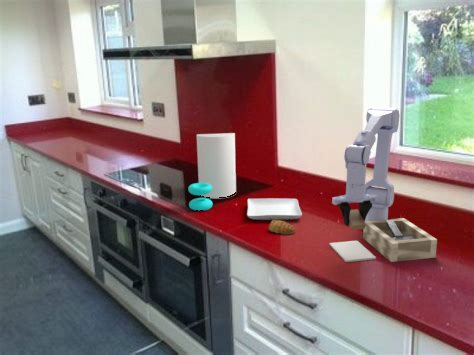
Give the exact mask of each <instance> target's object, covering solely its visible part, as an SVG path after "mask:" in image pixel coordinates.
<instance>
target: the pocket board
mask: <svg viewBox="0 0 474 355" xmlns="http://www.w3.org/2000/svg"><path fill="white" fill-rule="evenodd" d="M388 220H393V221H394V222H395V224H396V226H397V227H398V229H399V231H400V232H401V234H403V235H404V236H414V237H415V238H416V239H409V240H398V241H395V240H393V239H392V238H393V237H394V236H393V234H392V233H391V231H390V229H389V227H388V226H387V224H386V221H388ZM365 223H366V226H365V229H362V230H363V233H362V239H364V240H365V241H366V242H367V243H368V244H369V245H370V246H372V247H373V248H374V249H375V250H376V251H377V252H378V253H380V254H381V255H382V256H383V257H384V258H386V260H388V261H390V262H391V263H395V262H405V261H413V260H423V259H431V258H432V259H433V258H437V257H436V256H437V247H438V246H437V245H438V239H437V238H435V237H434V236H432V235H431V234H430V233H428V232H427V231H425V230H424V229H422V228H420V227H418V226H417V225H415V223H412V222H410V221H409V220H408V219H406V218H404V217H402V218H391V219H387V220H378V221H367V222H365Z"/></svg>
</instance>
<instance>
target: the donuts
mask: <svg viewBox="0 0 474 355" xmlns="http://www.w3.org/2000/svg"><path fill="white" fill-rule="evenodd" d="M187 188H188V192H189V193H190V194H191V195H194V196H200V195H206V194H208V193H210V192H211V191H212V186H211V185H210V184H207V183H199V182H196V183H192V184H190V185H189V186H188V187H187ZM213 204H214V203H213V201H212V200H211V199H210V198H206V197H198V198H197V197H196V198H194V199H192V200H190V201H189V203H188V206H189V208H190V209H191V210H193V211H196V210H198V211H197V212H201V211H200V210H203V211H208V210H210V209H211V208H212V207H213Z"/></svg>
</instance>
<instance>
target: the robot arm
mask: <svg viewBox="0 0 474 355" xmlns="http://www.w3.org/2000/svg"><path fill="white" fill-rule="evenodd" d="M400 116H401V115H400V111H399V109H398V107H376V106H375V107H374V106H369V108H368V109H367V111H366V117H365V119H366V126H365V127H364V130H360V131H359V133H358V134H357V135H356V137H355V139H354V141H353V142H352V144H349V145H347V147H346V148H345V151H344V155H343V157H344V164H345V169H346V183H345V184H346V187H345V194H344V195H339V196H334V197H331V198H332V200H331V201H332V202H331V204H333V205H334V206H337V205H338V207H339V209H340V212H341V214H342V218H343V224H344V225H345V226H346V227H347V226H348V227H349V216H350V210H352V207H351V206H350V204H354V203H355V204H356V203H357V204H358V210H359V212H360V214H361V216H362V218H363V220H364V221H365V222H367V221H378V220H389V219H388V216H389V207H391V206H393V203H394V200H395V186H394V184H393V183H392V182H391V181H390V180H389V179H388V172H389V162H390V154H391V144H392V138H393V134H394V133H397V132H398V129H399V125H400ZM376 135H377V138H376ZM375 143H376V147H375V154H374V155H375V156H374V164H373V174H372V178H371V179H369V180H367V182H366V174H367V173H366V172H367V164H368V163H369V161H370V156H371V153H372V151H371V150H372V148H373V146H374V144H375Z"/></svg>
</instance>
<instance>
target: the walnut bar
mask: <svg viewBox="0 0 474 355" xmlns="http://www.w3.org/2000/svg"><path fill="white" fill-rule="evenodd" d="M365 226H366V223H365V221H364V220H363V218H362V216H361V214H360V212H359V208H355V209H351V210H350V216H349V226H348V227H349V229H350V230H351V231H355V230H357V231H358V230H363V229H365Z"/></svg>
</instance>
